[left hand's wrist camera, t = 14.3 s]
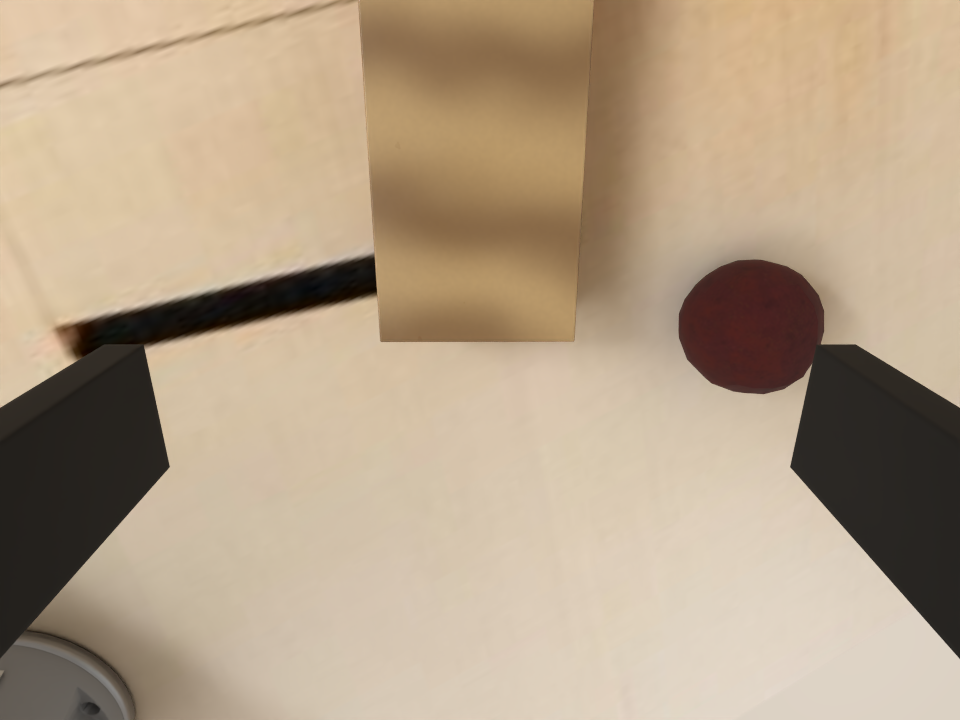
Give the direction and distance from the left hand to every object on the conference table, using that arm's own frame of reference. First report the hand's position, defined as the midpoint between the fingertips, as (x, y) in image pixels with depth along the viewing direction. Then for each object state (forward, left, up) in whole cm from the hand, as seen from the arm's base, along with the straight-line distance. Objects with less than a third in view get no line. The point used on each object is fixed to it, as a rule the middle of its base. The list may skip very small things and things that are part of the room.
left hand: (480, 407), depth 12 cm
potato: (+1, -16, -26) cm, 30 cm away
